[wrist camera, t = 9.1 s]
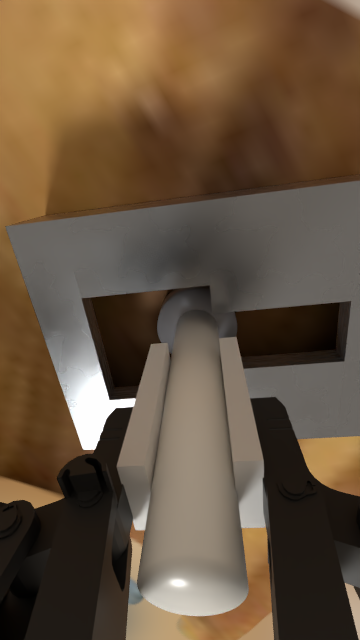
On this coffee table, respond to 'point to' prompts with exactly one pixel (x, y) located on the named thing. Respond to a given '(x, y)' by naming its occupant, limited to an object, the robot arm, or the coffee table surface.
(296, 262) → the keyhole plate
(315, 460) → the coffee table surface
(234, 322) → the peg
